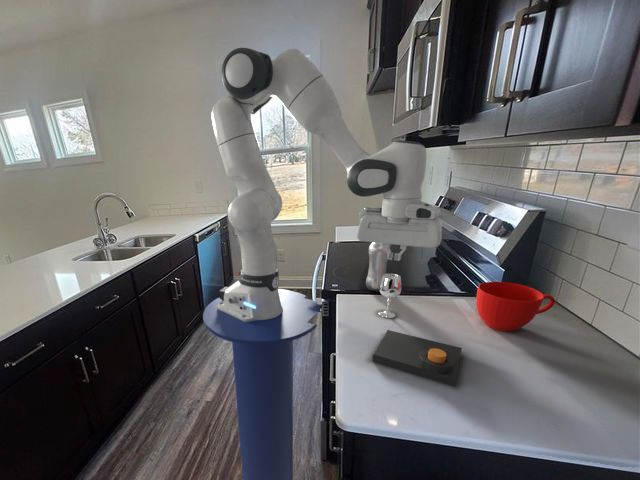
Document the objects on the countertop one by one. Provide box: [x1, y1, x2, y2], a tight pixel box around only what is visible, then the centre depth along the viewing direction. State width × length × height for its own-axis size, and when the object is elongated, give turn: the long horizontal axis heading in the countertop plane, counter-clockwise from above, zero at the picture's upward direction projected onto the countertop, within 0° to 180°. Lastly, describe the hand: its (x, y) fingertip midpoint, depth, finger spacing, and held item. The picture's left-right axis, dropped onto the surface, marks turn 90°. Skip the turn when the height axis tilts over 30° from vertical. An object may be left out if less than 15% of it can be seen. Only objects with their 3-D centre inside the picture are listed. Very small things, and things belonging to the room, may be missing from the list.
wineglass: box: [378, 273, 403, 319], centre depth 91 cm, size 6×6×12 cm
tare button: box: [428, 348, 447, 364], centre depth 67 cm, size 3×3×2 cm
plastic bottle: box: [365, 242, 391, 292], centre depth 107 cm, size 6×7×20 cm
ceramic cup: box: [475, 281, 556, 332], centre depth 82 cm, size 13×17×10 cm
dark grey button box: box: [371, 329, 463, 387], centre depth 72 cm, size 16×13×4 cm
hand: (393, 259), depth 87 cm, fingers closed
